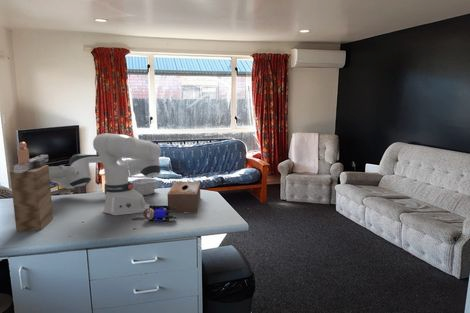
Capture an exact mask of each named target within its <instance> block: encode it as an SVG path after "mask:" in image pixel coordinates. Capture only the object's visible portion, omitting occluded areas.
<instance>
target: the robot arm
mask: <svg viewBox="0 0 470 313" xmlns="http://www.w3.org/2000/svg"><path fill="white" fill-rule="evenodd" d="M92 145H93V146H92V147H93V149H94V151H96V152H97V154H86V153H85V154H84V153H77V154H73V155H72V156H71V157H70V158H69V165H68V166H67V165H66V166H65V165H63V164H60V165H59V166H49V177H50V183H56V184H58V185H59V186H60V187H61V188H64V189H68V190H69V189H73V188H82V187H86V186H87V185H89V183H90V182H91V181H92V174H91V171H90V163H92V164H93V163H99V164H100V163H102V166H103V170H104V182H105V183H104V187H103V188H104V195H105V198H104V199H105V201H104V208H103V212H104V213H106V214H108V215H109V214H110V215H112V216H121V215H122V216H123V215H132V214H139V213H140V214H141V213H144V211H145V210H146V209H147V208H149V206H150V204H149V203H147V202H145V197H144V195H142V194H140V193H138V192H137V191H135V190H134V189H133V184H132V183H131V182H130V181H129V177H133V176H137V175H140V174H141V175H143V176H145V177H146V178H154V177H156V176H158V175H160V173H161V163H160V157H161V155H162V148H161V146H159V145H158V144H157V143H155V142H154V141H153V140H150V139H149V140H148V139H147V140H146V139H142V138H141V139H140V138H136V137H133V136H131V135H127V134H121V133H120V134H119V133H108V132H107V133H106V132H105V133H100V134H98V135H96V136H95V137H94V139H93V141H92Z"/></svg>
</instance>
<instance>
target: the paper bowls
mask: <svg viewBox="0 0 470 313" xmlns="http://www.w3.org/2000/svg"><path fill="white" fill-rule="evenodd" d="M130 183H132V184H133V189H134V190H135V191H137V192H138V193H140V194H142V195H143V196H147V195H148V196H149V195H152V194H153V193H155V190H157V189H158V179H156V178H154V177H146V178H137V179H133V180H131V182H130Z"/></svg>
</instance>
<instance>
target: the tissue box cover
mask: <svg viewBox="0 0 470 313" xmlns="http://www.w3.org/2000/svg"><path fill="white" fill-rule="evenodd" d="M199 201H201V181H174V182H173V184H172V186H171V187H170V189H169V191H168V192H167V206H168V205H169V208H176V210H169V211H174V212H169V214H185V213H184V212H197V213H198V211H197V210H199V206H200V202H199ZM198 205H199V206H198Z"/></svg>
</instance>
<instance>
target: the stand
mask: <svg viewBox="0 0 470 313" xmlns="http://www.w3.org/2000/svg"><path fill="white" fill-rule="evenodd" d="M30 159H31V158H29V160H30ZM35 165H36V167H34V168H32V169H30V170H28V171H25V172H23V173H14V170H11V171H10V172H9V174H10V176H9V177H10V183H11V184H10V185H11V192H12V193H11V194H12V203H13V212H14V220H15V230H16V231H15V232H26V231H29V232H30V231H42V230H43V229H44V228H45V227H46V226H47V225H48V224H49V223H51V222H52V221H53V220H54V213H53V203H52V202H53V201H52V190H51V189H52V188H51V182H50V177H49V167H50V166H49V164H47V162H46V161H45V159H39V160H37V161H35Z"/></svg>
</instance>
